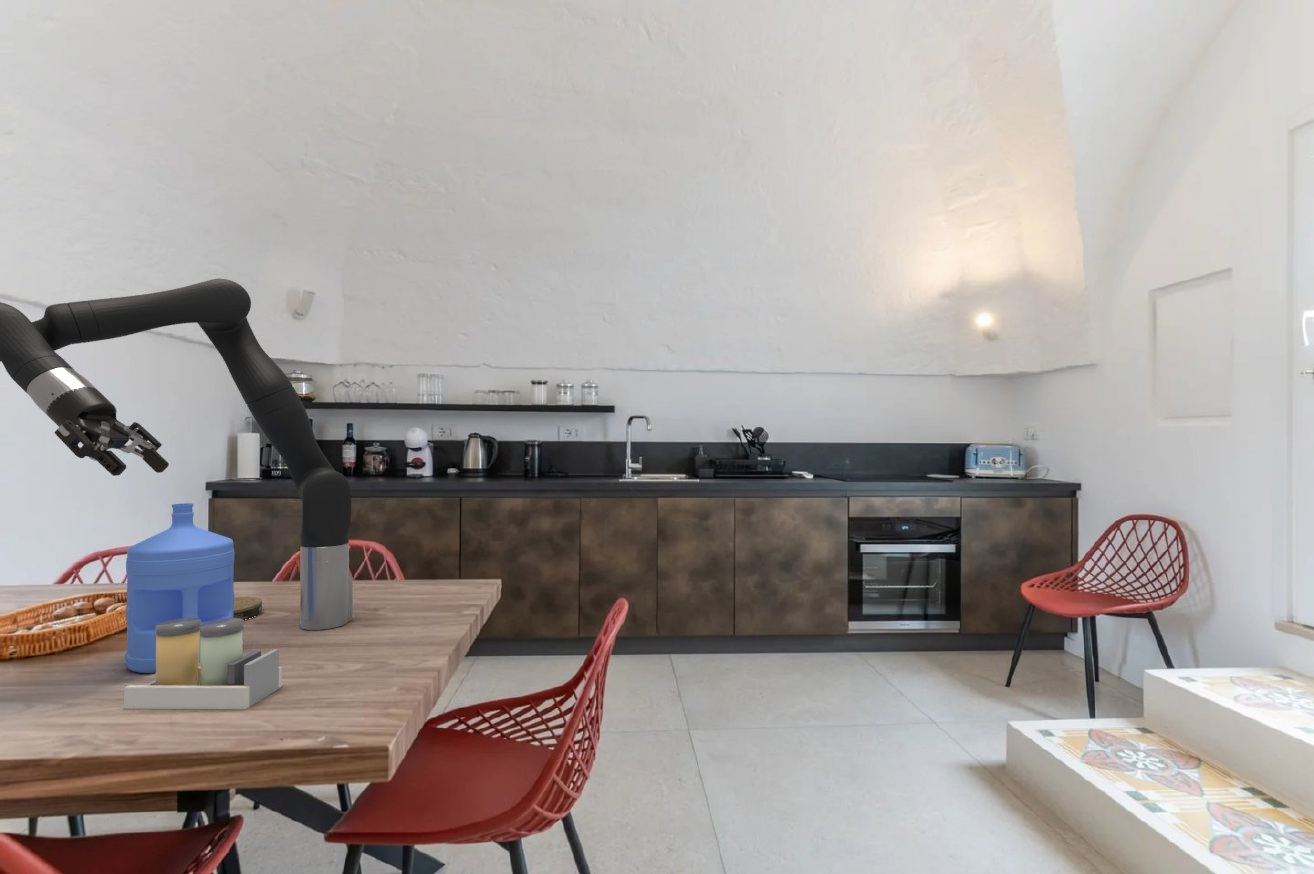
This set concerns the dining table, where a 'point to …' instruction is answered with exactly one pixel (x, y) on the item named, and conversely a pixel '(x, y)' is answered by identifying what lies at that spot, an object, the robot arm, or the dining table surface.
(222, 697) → the jar lane
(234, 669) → the block
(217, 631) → the sage jar
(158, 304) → the robot arm
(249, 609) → the brown round flat disc
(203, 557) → the water jug
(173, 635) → the honey jar
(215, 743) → the dining table surface
